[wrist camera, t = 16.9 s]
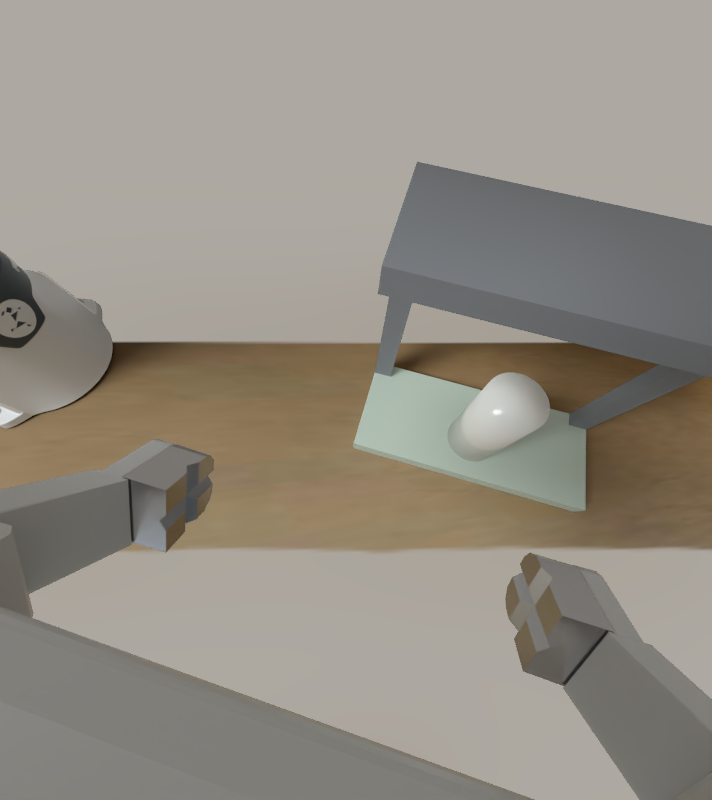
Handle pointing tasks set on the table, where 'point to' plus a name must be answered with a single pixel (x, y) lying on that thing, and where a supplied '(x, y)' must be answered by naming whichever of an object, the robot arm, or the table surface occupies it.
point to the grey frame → (535, 316)
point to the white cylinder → (499, 416)
